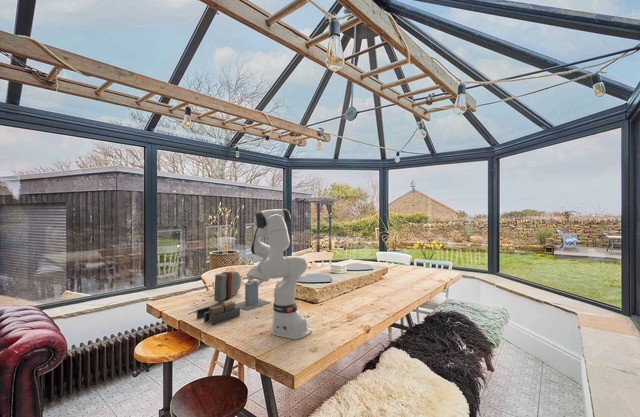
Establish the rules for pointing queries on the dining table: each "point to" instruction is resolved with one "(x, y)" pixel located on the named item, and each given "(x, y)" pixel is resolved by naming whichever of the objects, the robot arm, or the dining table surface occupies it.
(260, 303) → the mat
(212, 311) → the offcut
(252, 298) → the panel
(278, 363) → the dining table surface
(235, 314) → the rack
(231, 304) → the offcut
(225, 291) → the decorative stone tablet
